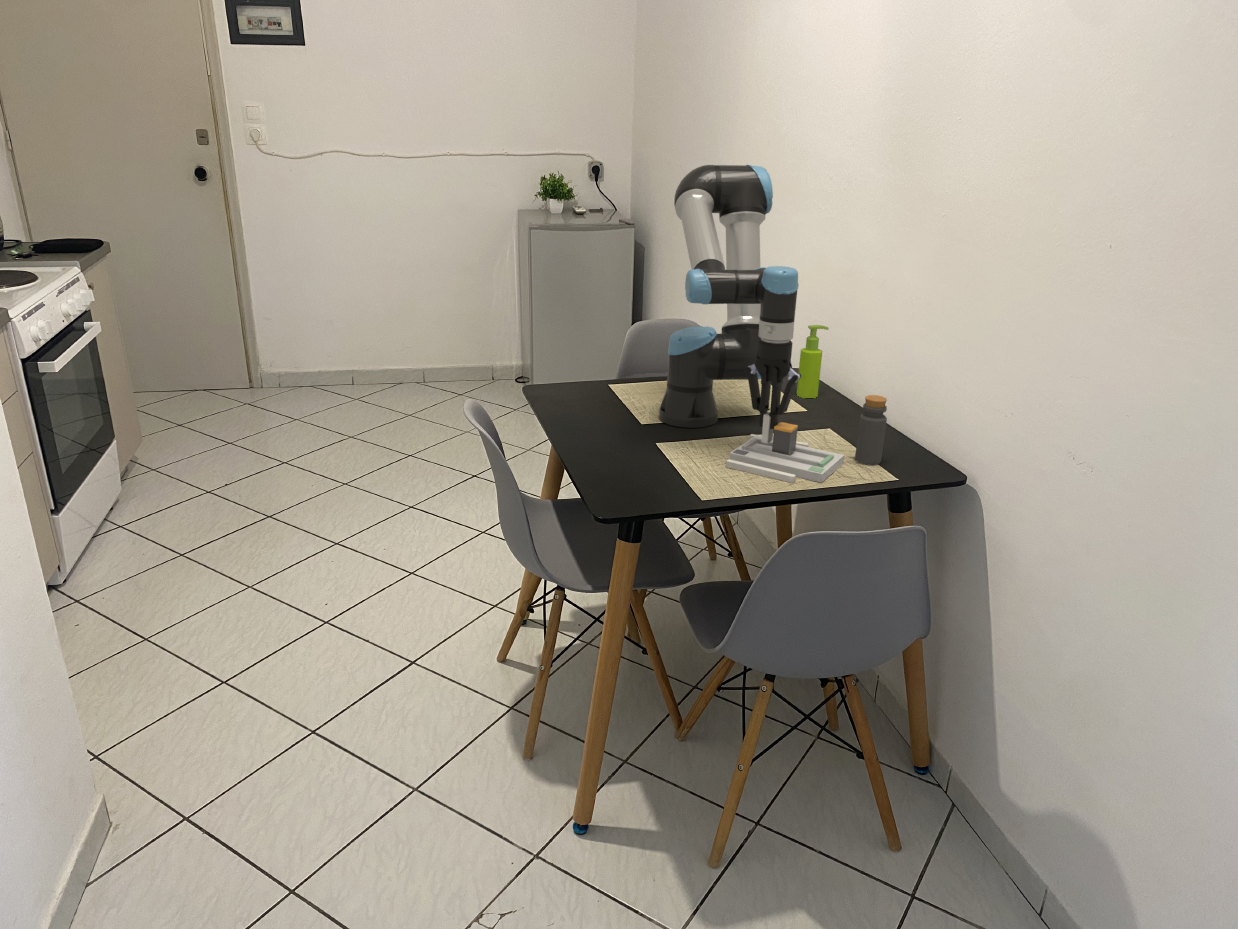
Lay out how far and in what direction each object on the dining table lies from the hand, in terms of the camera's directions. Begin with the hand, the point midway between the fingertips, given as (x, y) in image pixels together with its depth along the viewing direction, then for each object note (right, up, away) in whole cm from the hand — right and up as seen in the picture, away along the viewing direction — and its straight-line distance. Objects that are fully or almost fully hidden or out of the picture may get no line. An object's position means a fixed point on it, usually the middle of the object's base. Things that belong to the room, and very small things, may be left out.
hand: (766, 441), depth 202 cm
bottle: (+23, -5, +1) cm, 24 cm away
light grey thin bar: (+4, -1, +10) cm, 11 cm away
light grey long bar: (-3, -7, -8) cm, 11 cm away
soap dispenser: (+20, +14, +48) cm, 53 cm away
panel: (+4, -5, -1) cm, 7 cm away
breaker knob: (+4, -2, -1) cm, 4 cm away
